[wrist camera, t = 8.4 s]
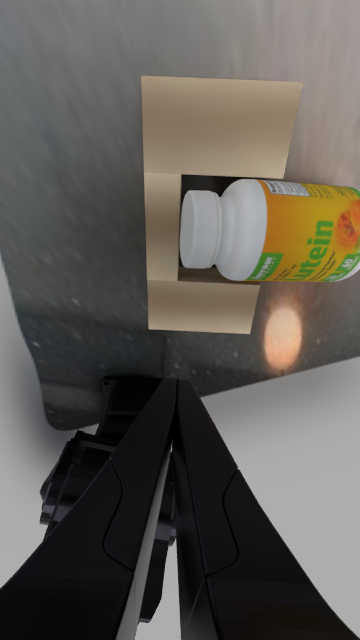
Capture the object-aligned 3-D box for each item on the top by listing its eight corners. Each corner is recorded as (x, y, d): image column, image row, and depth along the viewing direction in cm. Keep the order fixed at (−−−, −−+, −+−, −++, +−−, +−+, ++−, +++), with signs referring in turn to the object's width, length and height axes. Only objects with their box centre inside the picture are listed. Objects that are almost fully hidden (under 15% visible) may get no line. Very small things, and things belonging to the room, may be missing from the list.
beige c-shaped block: (242, 314, 22) (249, 334, 19) (153, 309, 22) (148, 329, 19) (283, 97, 14) (303, 82, 12) (149, 91, 15) (141, 75, 12)
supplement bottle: (347, 299, 15) (187, 300, 14) (302, 257, 19) (174, 254, 18) (406, 204, 12) (203, 190, 10) (336, 177, 16) (182, 164, 14)
